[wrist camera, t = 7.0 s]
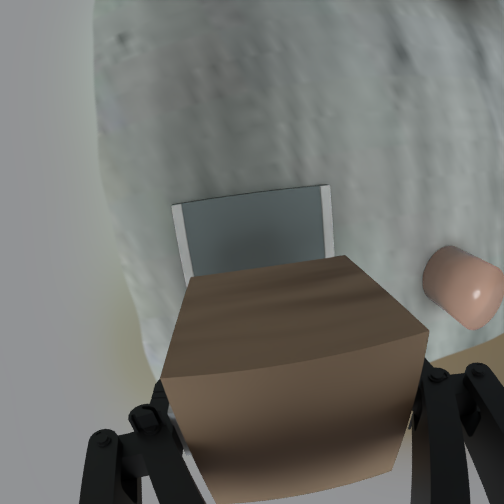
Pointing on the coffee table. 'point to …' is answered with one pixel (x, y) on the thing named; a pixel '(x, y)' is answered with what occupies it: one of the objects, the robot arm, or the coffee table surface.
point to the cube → (292, 378)
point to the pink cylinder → (464, 286)
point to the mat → (254, 230)
